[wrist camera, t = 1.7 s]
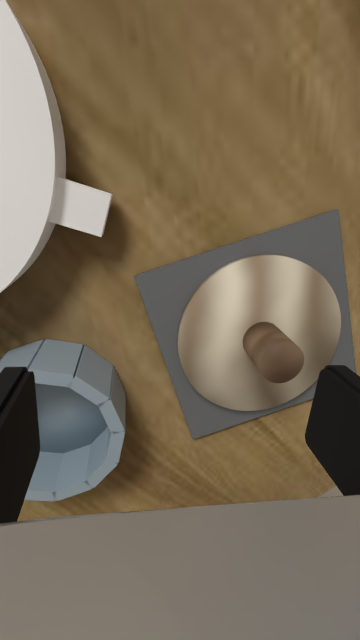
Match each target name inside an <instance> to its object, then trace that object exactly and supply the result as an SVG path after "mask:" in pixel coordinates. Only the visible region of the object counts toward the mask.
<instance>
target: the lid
mask: <svg viewBox="0 0 360 640" xmlns="http://www.w3.org/2000/svg"><path fill="white" fill-rule="evenodd" d="M340 330H341V313H340V308H339V303H338V300H337V298H336V295H335V293H334V291H333V289H332V287H331V286H330V284H329V283H328V282H327V280H326V279H325V278H324V277H323V276H322V275H321V274H320V273H319V272H318V271H316V270H315V269H313V268H312V267H311V266H309V265H307V264H305V263H303V262H301V261H299V260H296V259H293V258H290V257H287V256H282V255H275V254H261V255H253V256H249V257H245V258H241V259H238V260H236V261H233V262H231V263H229V264H227V265H225V266H223V267H221V268H220V269H218V270H217V271H215V272H214V273H213V274H211V275H210V276H209V277H208V278H207V279H206V280H205V281H204V282H202V283H201V284H200V286H199V287H198V288H197V289H196V290H195V292H194V293H193V295H192V296H191V298H190V299H189V301H188V302H187V304H186V307H185V309H184V311H183V313H182V316H181V319H180V322H179V328H178V335H177V346H178V354H179V358H180V362H181V365H182V368H183V370H184V373H185V375H186V377H187V379H188V380H189V382H190V383H191V385H192V386H193V387H194V388H195V389H196V391H198V392H199V393H200V394H201V395H202V396H203V397H205V398H206V399H208V400H209V401H211V402H213V403H215V404H217V405H219V406H222V407H225V408H228V409H233V410H239V411H256V410H263V409H268V408H272V407H275V406H278V405H281V404H283V403H286V402H288V401H289V400H291V399H293V398H295V397H297V396H298V395H300V394H301V393H303V392H304V391H305V390H306V389H308V388H309V387H310V386H311V385H312V384H313V383H314V382H315V381H316V380H317V379H318V377H319V373H320V371H321V370H322V369H324V368H325V366H327V365H328V364H329V363H330V361H331V359H332V357H333V355H334V353H335V350H336V348H337V345H338V341H339V337H340Z"/></svg>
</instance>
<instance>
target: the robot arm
mask: <svg viewBox="0 0 360 640" xmlns="http://www.w3.org/2000/svg"><path fill="white" fill-rule="evenodd" d="M305 440H306V443H307V445H308V447H309V448H310V449H311V451H312V452H313V454H314V455H315V456H316V458H317V459H318V461H319V462H320V463H321V465H322V466H323V467H324V469H325V470H326V472H327V473H328V474H329V476H330V477H331V479H332V480H333V481H334V483H335V484H336V486H337V487H338V488H339V490H340V491H341V492H342V494H343V495H344V496H336V497H322V498H308V499H294V500H280V501H267V502H253V503H239V504H225V505H211V506H197V507H183V508H169V509H156V510H144V511H131V512H118V513H105V514H92V515H79V516H67V517H56V518H47V519H38V520H28V521H19V522H17V519H18V516H19V513H20V511H21V508H22V505H23V502H24V499H25V496H26V493H27V490H28V487H29V484H30V481H31V478H32V476H33V473H34V470H35V467H36V464H37V461H38V458H39V454H40V436H39V424H38V412H37V401H36V389H35V377H34V372H33V371H28V370H27V368H26V367H5V368H4V369H3V370H2V371H1V373H0V640H360V376H358V375H357V374H356V373H354V372H353V371H352V370H351V369H349V368H348V367H347V366H345V365H327V366H325V368H324V369H322V370H321V371H320V373H319V377H318V381H317V385H316V390H315V394H314V398H313V403H312V407H311V411H310V416H309V420H308V424H307V428H306V433H305Z"/></svg>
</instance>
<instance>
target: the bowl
mask: <svg viewBox="0 0 360 640" xmlns="http://www.w3.org/2000/svg"><path fill="white" fill-rule="evenodd" d="M82 347H83V344H77V343H70V342H64V341H57V340H50V339H45V341H44V339H42V340H39V341H36V342H33V343H30V344H27V345H24V346H21V347H18V348H15V349H12V350H9V351H8V352H6V354H5V355H4V356H3V357H2V358H1V359H0V373H1V371H2V370H3V369H4V368H5V367H26V368H27V370H28V371H33V372H34V377H35V389H36V401H37V412H38V424H39V436H40V454H39V458H38V461H37V464H36V467H35V470H34V473H33V476H32V478H31V481H30V484H29V487H28V490H27V493H26V496H25V499H24V500H36V501H55V499H56V501H59V500H62V499H65V498H68V497H71V496H74V495H77V494H80V493H83V492H85V491H88V490H91V489H92V488H95V487H96V486H97V485H98V484H99V483H100V482H101V481H102V480H103V479H104V478H105V477H106V476H107V475H108V474H109V473H110V472H111V471H112V470H113V469H114V468H115V467H116V466H117V465H118V463H119V458H120V454H121V449H122V445H123V440H124V435H125V414H126V393H125V391H124V389H123V386H122V384H121V382H120V379H119V377H118V375H117V372H116V370H115V368H114V367H113V365H112V364H111V363H109V362H108V361H106V360H105V359H104V358H102V357H101V356H99V355H98V354H97V353H95V352H94V351H92V350H91V349H90V348H88V347H87V346H85V345H84V347H83V348H82Z"/></svg>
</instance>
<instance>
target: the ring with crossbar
mask: <svg viewBox="0 0 360 640" xmlns="http://www.w3.org/2000/svg"><path fill="white" fill-rule="evenodd" d="M112 196H113V194H111V193H107V192H104V191H101V190H98V189H95V188H92V187H89V186H86V185H83V184H80V183H77V182H74V181H71V180H68V179H66V150H65V139H64V132H63V126H62V121H61V116H60V112H59V108H58V104H57V101H56V97H55V94H54V91H53V88H52V85H51V83H50V80H49V77H48V75H47V72H46V70H45V68H44V66H43V63H42V61H41V59H40V57H39V55H38V53H37V51H36V49H35V47H34V45H33V43H32V42H31V40H30V38H29V36H28V35H27V33H26V31H25V30H24V28H23V26H22V25H21V23H20V22H19V20H18V19H17V17H16V16H15V14H14V12H13V11H12V9H11V8H10V6H9V5H8V3H7V2H6V0H0V293H1V292H2V291H3V290H5V289H6V288H7V287H8V286H10V285H11V284H12V283H13V282H15V281H16V280H17V279H18V278H19V277H20V276H21V275H23V274H24V273H25V272H26V271H27V269H28V268H29V267H30V266H31V265H32V264H33V263H34V261H35V260H36V259H37V257H38V256H39V255H40V253H41V252H42V250H43V249H44V247H45V245H46V243H47V242H48V240H49V238H50V236H51V234H52V231H53V229H54V227H55V224H59V225H62V226H66V227H69V228H72V229H76V230H79V231H83V232H86V233H89V234H93V235H96V236H99V237H102V235H103V234H104V229H105V225H106V221H107V217H108V213H109V209H110V205H111V200H112Z"/></svg>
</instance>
